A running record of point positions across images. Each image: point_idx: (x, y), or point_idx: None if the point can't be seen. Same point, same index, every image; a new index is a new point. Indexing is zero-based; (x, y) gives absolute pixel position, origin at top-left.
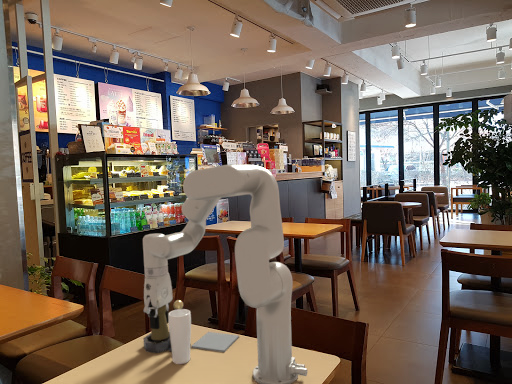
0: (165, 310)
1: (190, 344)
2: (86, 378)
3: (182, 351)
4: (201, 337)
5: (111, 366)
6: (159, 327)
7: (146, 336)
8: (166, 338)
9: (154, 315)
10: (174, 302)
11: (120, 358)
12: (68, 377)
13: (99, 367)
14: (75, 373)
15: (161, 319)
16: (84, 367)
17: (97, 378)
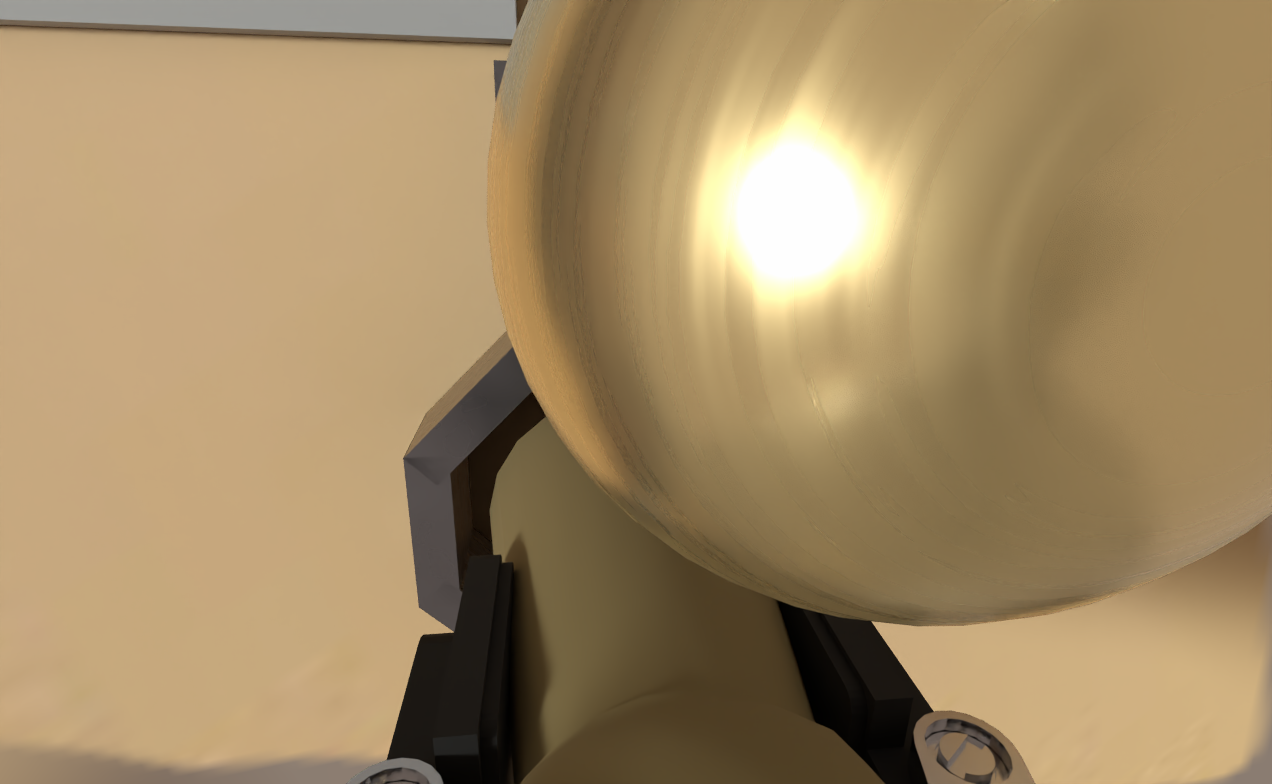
0: (700, 738)
1: (501, 61)
2: (1254, 642)
3: None
4: (185, 23)
5: (1072, 610)
6: None
7: None
8: (463, 487)
9: (1021, 780)
10: (1230, 526)
11: (930, 642)
12: (1236, 755)
13: (1093, 679)
14: (1183, 758)
15: (754, 623)
16: (1098, 771)
17: (1258, 571)
